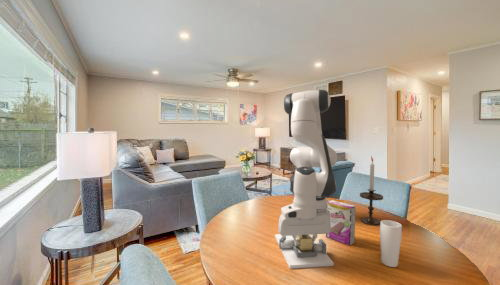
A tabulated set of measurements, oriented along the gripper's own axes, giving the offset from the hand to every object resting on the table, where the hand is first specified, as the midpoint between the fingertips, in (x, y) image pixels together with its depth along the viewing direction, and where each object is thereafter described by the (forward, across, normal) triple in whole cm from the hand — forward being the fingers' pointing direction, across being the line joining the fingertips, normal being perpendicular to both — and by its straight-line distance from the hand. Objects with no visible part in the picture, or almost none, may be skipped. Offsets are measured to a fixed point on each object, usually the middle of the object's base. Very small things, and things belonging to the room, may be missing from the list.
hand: (304, 244), depth 90 cm
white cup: (+4, -29, +9) cm, 31 cm away
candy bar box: (+4, -20, -10) cm, 23 cm away
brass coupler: (+2, 0, 0) cm, 2 cm away
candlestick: (+4, -46, -27) cm, 53 cm away
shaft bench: (+4, 0, -4) cm, 6 cm away
